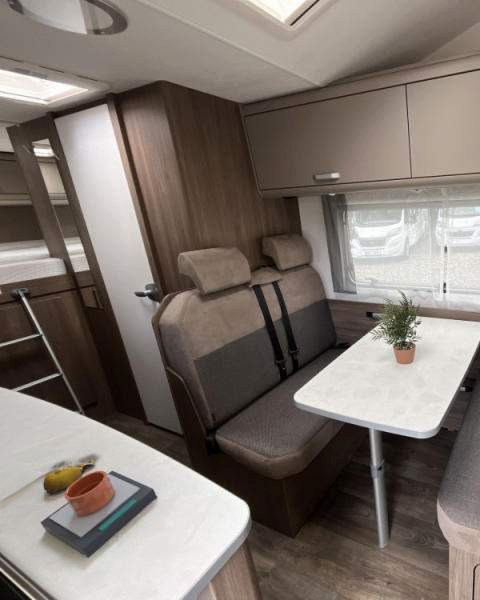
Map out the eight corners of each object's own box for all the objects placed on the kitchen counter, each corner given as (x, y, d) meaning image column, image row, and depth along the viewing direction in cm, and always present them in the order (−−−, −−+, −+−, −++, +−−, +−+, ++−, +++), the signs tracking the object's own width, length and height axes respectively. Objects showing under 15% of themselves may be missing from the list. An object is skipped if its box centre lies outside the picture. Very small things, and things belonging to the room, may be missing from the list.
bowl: (68, 511, 61) (57, 493, 59) (104, 484, 66) (95, 467, 64) (86, 521, 59) (75, 503, 57) (122, 493, 64) (113, 475, 62)
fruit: (99, 458, 76) (93, 447, 75) (81, 487, 69) (74, 475, 68) (55, 470, 74) (48, 459, 72) (32, 502, 66) (24, 489, 65)
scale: (46, 530, 60) (38, 520, 59) (116, 478, 71) (111, 469, 70) (88, 557, 56) (81, 547, 55) (157, 497, 66) (152, 487, 65)
